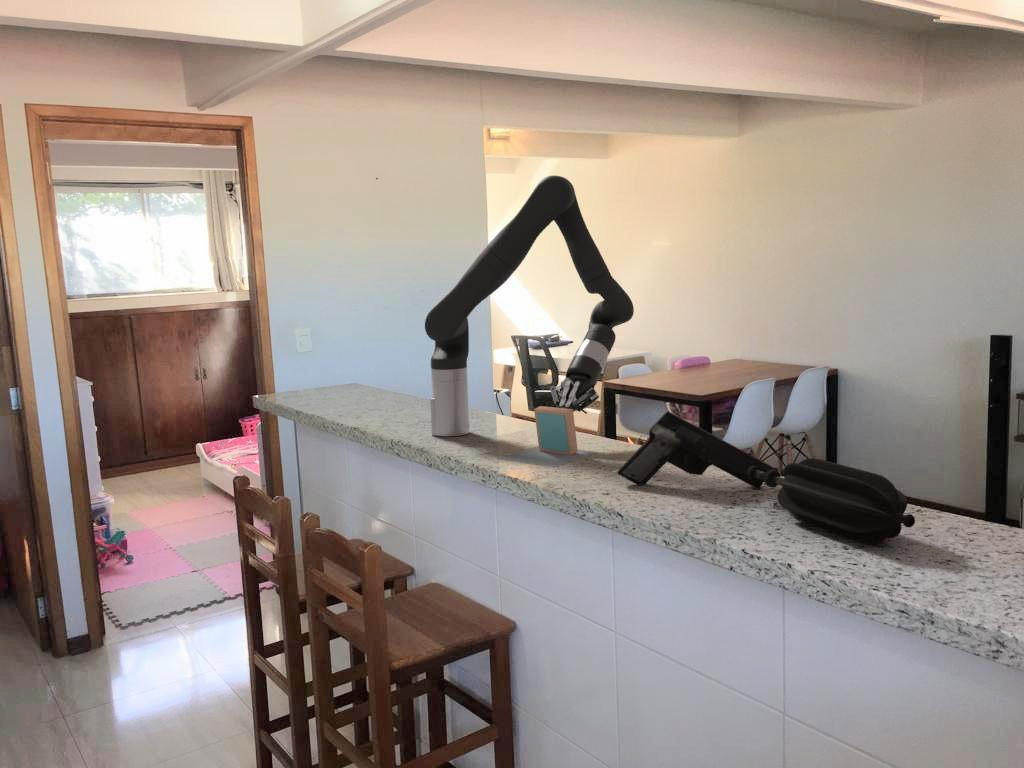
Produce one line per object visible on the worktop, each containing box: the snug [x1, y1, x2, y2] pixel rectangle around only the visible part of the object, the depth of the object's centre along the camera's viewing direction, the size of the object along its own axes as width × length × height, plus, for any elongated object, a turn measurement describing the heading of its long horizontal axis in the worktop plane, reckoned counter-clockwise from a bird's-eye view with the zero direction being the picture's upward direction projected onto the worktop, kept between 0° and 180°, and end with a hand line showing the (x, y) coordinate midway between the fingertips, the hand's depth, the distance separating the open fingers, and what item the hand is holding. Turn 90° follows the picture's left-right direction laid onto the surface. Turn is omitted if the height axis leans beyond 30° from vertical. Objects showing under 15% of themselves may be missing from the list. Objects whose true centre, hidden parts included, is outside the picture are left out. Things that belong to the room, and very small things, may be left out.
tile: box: [533, 405, 579, 455], centre depth 189 cm, size 9×2×10 cm, turn 52°
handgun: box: [616, 410, 773, 490], centre depth 158 cm, size 2×24×15 cm, turn 78°
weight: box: [746, 457, 916, 545], centre depth 132 cm, size 34×10×10 cm, turn 24°
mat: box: [496, 445, 600, 468], centre depth 187 cm, size 16×17×1 cm
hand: (559, 423), depth 190 cm, fingers closed
